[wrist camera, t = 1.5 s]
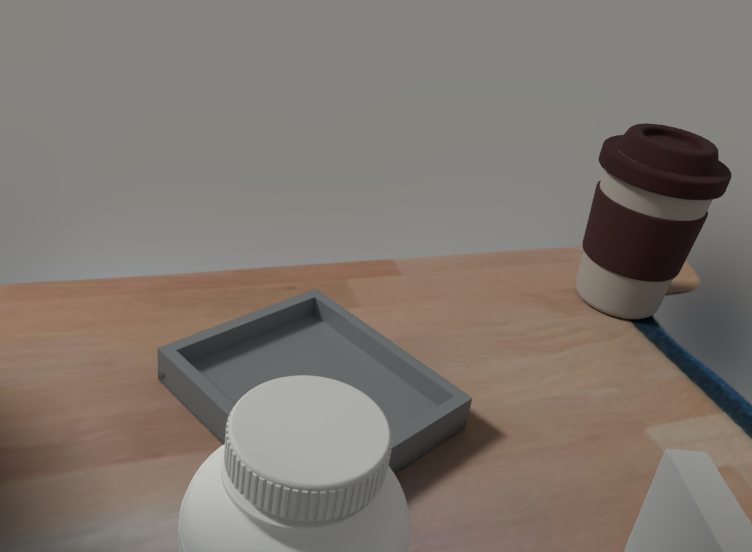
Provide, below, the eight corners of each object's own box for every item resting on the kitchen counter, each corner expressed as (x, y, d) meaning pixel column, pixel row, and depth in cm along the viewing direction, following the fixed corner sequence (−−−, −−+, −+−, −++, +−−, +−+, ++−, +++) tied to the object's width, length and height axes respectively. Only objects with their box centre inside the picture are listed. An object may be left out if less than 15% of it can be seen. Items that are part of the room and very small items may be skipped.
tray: (158, 379, 46) (157, 347, 45) (312, 316, 54) (315, 288, 53) (309, 530, 38) (313, 497, 36) (464, 428, 46) (472, 398, 45)
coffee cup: (627, 267, 69) (682, 117, 62) (696, 326, 61) (769, 163, 54) (538, 272, 66) (585, 114, 58) (599, 335, 58) (662, 162, 50)
